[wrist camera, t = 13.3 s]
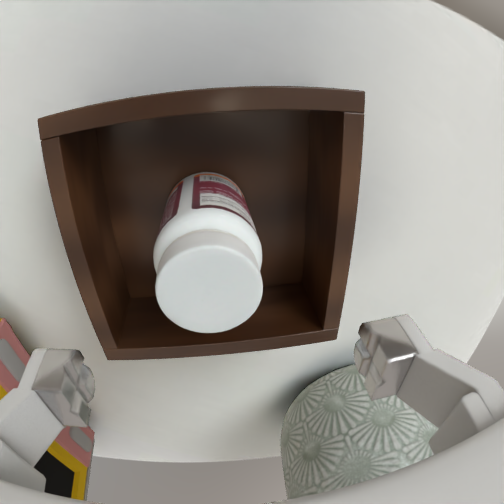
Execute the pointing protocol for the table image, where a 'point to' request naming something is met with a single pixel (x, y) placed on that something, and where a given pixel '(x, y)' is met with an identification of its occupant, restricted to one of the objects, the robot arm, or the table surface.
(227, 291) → the pill bottle
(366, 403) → the planter
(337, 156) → the holder
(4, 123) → the table surface
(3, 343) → the alarm clock
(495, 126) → the table surface
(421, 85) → the table surface
